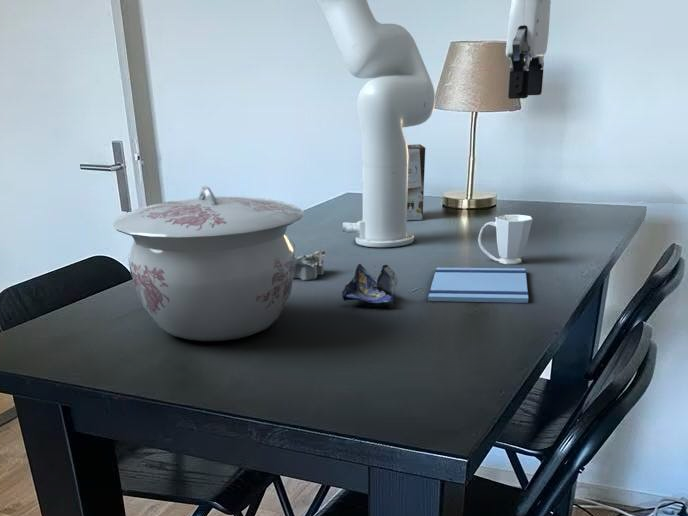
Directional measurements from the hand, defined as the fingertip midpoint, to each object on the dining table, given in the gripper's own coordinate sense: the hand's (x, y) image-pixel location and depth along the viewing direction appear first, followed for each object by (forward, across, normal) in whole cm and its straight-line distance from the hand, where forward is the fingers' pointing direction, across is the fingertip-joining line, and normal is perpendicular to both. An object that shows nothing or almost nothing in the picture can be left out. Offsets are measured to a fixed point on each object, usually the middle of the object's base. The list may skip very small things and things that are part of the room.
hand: (525, 96), depth 138 cm
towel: (+28, +19, -1) cm, 34 cm away
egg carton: (+28, +22, -36) cm, 50 cm away
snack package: (+28, +33, -15) cm, 46 cm away
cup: (+28, -1, -2) cm, 28 cm away
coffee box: (+28, -39, -36) cm, 60 cm away
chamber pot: (+28, +55, -31) cm, 69 cm away
